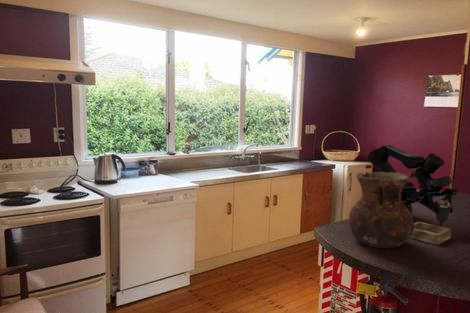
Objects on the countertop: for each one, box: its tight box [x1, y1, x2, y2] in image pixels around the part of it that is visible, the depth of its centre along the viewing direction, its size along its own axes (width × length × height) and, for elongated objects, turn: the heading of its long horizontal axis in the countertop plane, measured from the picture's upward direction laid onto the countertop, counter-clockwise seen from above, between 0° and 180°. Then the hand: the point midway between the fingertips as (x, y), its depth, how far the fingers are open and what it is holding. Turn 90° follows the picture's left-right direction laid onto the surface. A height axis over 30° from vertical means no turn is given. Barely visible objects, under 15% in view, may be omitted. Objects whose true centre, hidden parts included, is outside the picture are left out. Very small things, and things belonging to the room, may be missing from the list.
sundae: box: [434, 194, 453, 227], centre depth 145 cm, size 7×7×15 cm
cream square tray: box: [409, 221, 452, 246], centre depth 138 cm, size 12×12×4 cm
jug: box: [348, 171, 414, 249], centre depth 130 cm, size 22×21×25 cm
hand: (444, 213), depth 144 cm, fingers closed on sundae, 6 cm apart
